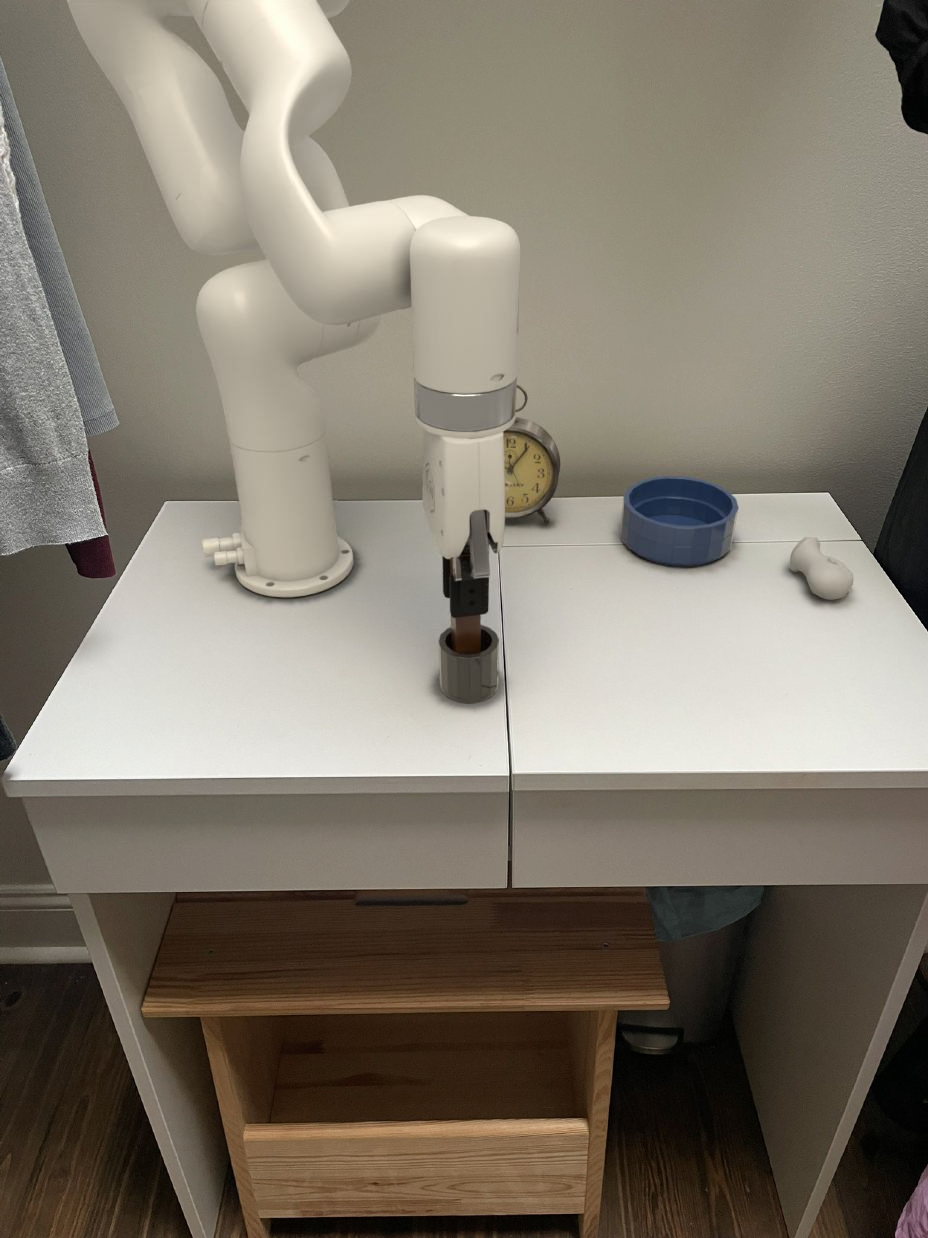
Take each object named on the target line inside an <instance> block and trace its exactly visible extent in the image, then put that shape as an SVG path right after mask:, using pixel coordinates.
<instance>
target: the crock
mask: <svg viewBox="0 0 928 1238" xmlns="http://www.w3.org/2000/svg"><path fill="white" fill-rule="evenodd" d="M499 638H500V637H499V636H498V634H497V633H496V632H495V631H494V630H493V629H492V628H490V627H488V626H486V625H484V624H481V648H480V653H477V654H470V655H469V654H460V653H457V652H455V651H452V650H451V626H450V627H448V628H446V629H445V630H443V631H442V632H441V634H440V635H439V638H438V665H439V666H438V667H439V686H440V690H441V692H442V694H443V695H444V696H445V697H447V698H448V699H450V700H451V701H454V702H457V703H461V704H476V703H481V702H484V701H487V700H489V699H490V698H492V697H493V696H494V695H495V694H496V692H497V691H498V689H499V680H500V679H499V678H500V677H499V675H500V639H499Z"/></svg>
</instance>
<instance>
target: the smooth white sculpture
mask: <svg viewBox="0 0 928 1238" xmlns="http://www.w3.org/2000/svg"><path fill="white" fill-rule="evenodd" d="M820 549H821V543H820V539H819V538H817V537H815V536H805V537H803V538H801V540H800V541H799V542H798V543H797V544H796V545H795V546H794V547H793V548H792V551H791V553H790V557H789V569H790V571H791V572H794V573H795V572H801V573H803V575H804V576H805V577H806V581H807V583H808V585H809V588H810V591H811V593H812V594H813V595H816V596H818V597H820V598H822V599H825V600H839V599H842V598H843V597H845V596H846V595H847V594H848V593H849V592H850V590H851V589H852V588H853V584H854V574H853V572H852V571H851V570H850V568H848V567H847V566H846V565H845V563H844V562H842V561H841V560H840V559H837V558H836V557H832V556H830V555H824V554H823V553H822V552H821V550H820Z"/></svg>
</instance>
